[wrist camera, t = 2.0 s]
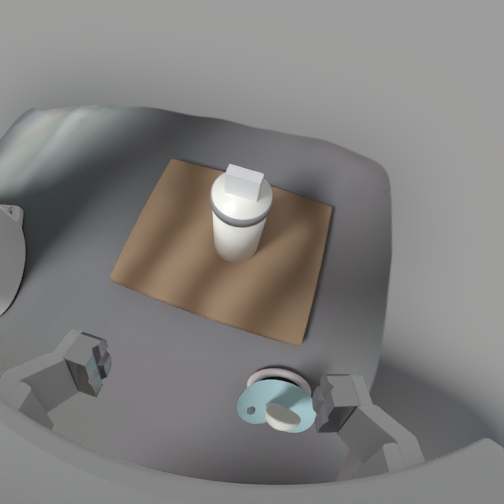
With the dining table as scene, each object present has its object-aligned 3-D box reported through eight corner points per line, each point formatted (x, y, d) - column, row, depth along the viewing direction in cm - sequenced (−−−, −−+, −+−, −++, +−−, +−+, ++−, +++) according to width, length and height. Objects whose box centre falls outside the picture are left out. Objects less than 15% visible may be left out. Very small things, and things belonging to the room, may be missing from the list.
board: (113, 281, 26) (109, 278, 25) (172, 164, 32) (171, 158, 31) (297, 346, 26) (301, 345, 25) (328, 212, 32) (332, 206, 31)
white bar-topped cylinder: (206, 255, 27) (198, 191, 17) (222, 216, 29) (223, 141, 18) (251, 269, 27) (269, 212, 17) (263, 230, 29) (286, 159, 18)
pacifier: (249, 359, 25) (230, 415, 23) (258, 357, 19) (233, 429, 17) (319, 378, 25) (301, 432, 22) (345, 380, 19) (323, 448, 17)
